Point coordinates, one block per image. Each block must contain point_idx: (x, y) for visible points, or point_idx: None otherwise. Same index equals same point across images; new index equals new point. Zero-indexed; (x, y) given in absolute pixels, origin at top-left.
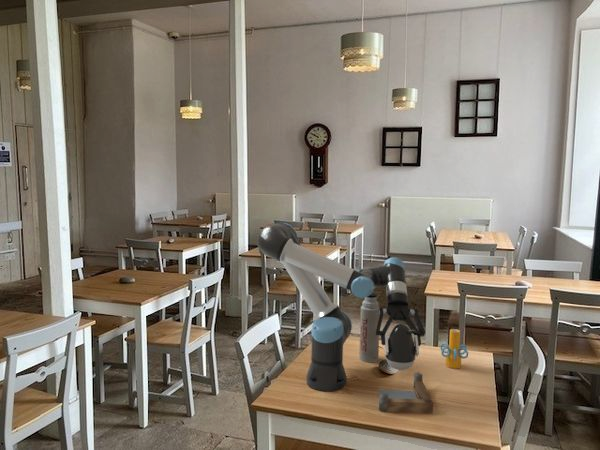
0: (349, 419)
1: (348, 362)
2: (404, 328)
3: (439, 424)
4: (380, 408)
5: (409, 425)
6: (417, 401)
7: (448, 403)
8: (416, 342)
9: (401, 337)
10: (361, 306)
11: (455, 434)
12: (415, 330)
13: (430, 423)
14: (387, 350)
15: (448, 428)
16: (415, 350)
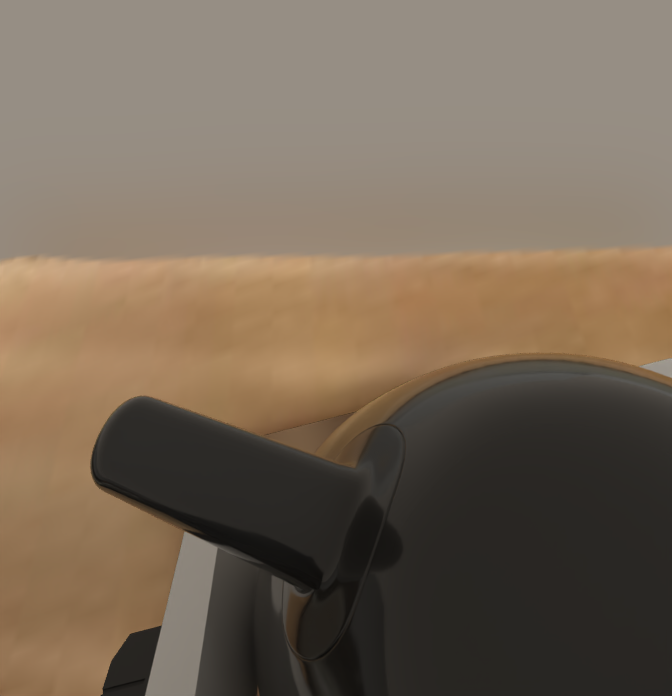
0: (658, 251)
1: None
2: (473, 442)
3: (193, 354)
4: None
5: (343, 295)
6: (299, 444)
7: (106, 649)
8: (196, 598)
9: (495, 356)
10: None
11: (129, 287)
12: (105, 422)
13: (238, 349)
14: (665, 370)
15: (153, 330)
16: (250, 594)
